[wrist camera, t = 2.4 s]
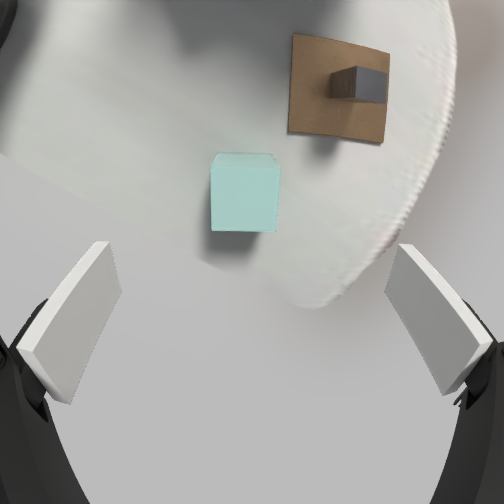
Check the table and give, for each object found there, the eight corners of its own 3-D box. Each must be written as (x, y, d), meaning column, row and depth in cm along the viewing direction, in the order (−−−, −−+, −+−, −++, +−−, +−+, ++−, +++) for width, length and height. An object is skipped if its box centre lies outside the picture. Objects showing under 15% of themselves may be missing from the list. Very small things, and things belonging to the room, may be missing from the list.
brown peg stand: (287, 131, 25) (303, 139, 19) (292, 34, 20) (309, 13, 14) (381, 142, 25) (417, 156, 19) (388, 54, 21) (425, 46, 14)
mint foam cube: (217, 203, 28) (211, 230, 23) (217, 152, 26) (210, 167, 20) (268, 204, 29) (276, 231, 23) (272, 154, 26) (280, 168, 20)
